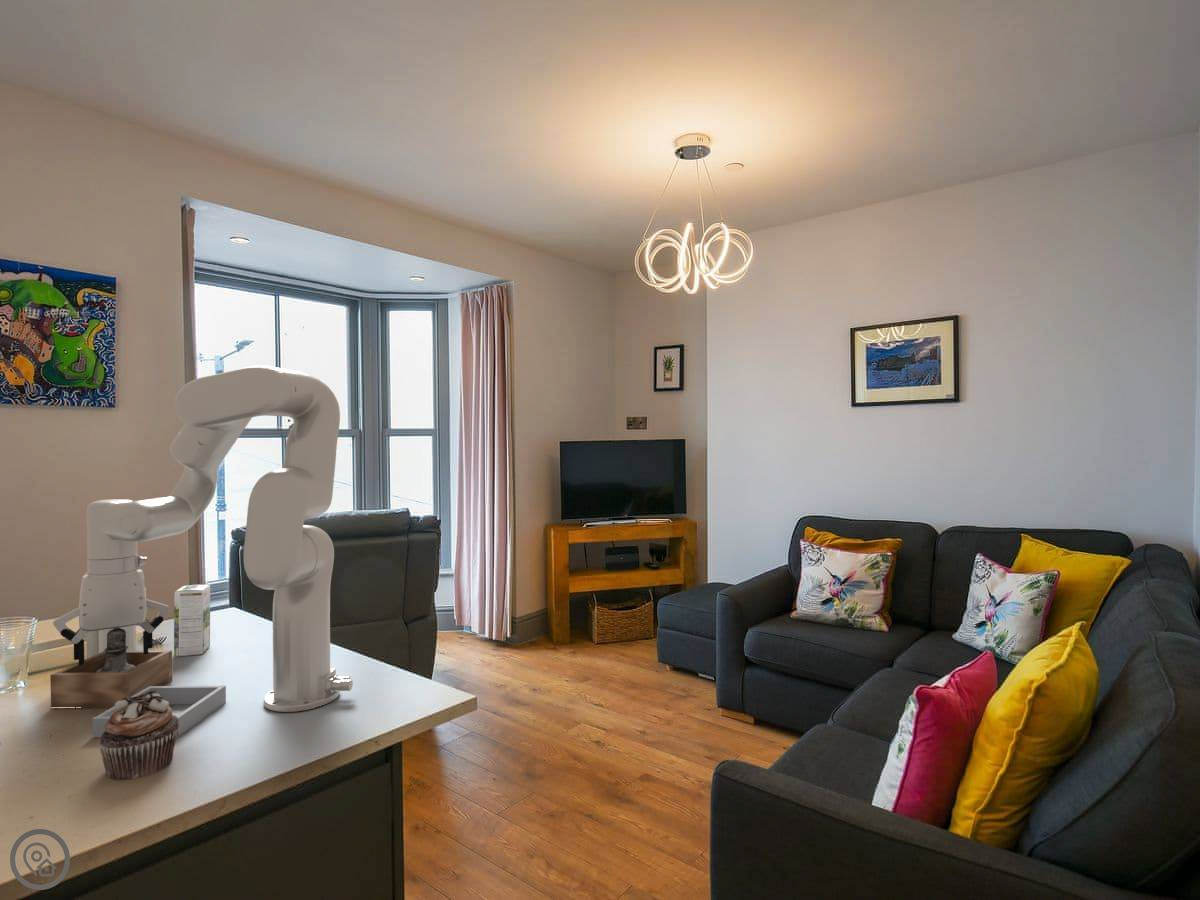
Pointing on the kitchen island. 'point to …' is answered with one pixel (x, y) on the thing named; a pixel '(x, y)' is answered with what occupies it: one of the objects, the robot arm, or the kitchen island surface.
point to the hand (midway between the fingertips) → (114, 657)
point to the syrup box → (191, 620)
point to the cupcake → (139, 737)
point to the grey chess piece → (116, 652)
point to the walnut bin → (109, 680)
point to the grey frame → (199, 696)
